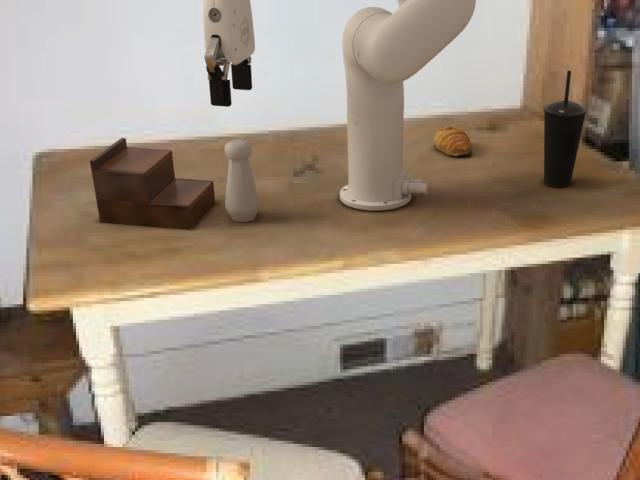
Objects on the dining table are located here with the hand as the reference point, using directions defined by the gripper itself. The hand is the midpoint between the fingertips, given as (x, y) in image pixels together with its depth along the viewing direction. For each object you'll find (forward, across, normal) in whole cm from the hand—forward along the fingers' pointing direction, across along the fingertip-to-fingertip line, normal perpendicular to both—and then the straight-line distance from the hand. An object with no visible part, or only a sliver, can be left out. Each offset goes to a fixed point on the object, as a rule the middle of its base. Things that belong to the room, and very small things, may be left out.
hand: (232, 97), depth 148 cm
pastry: (+19, +41, -31) cm, 55 cm away
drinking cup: (+19, +26, -52) cm, 61 cm away
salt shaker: (+20, -1, -1) cm, 20 cm away
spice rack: (+20, -2, +14) cm, 24 cm away
